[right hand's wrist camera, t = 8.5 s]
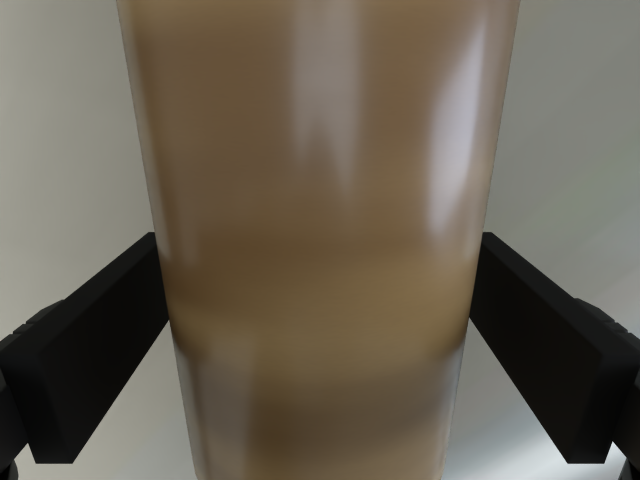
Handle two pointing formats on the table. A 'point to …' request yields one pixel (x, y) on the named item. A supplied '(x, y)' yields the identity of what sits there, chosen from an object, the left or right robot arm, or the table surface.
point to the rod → (318, 220)
